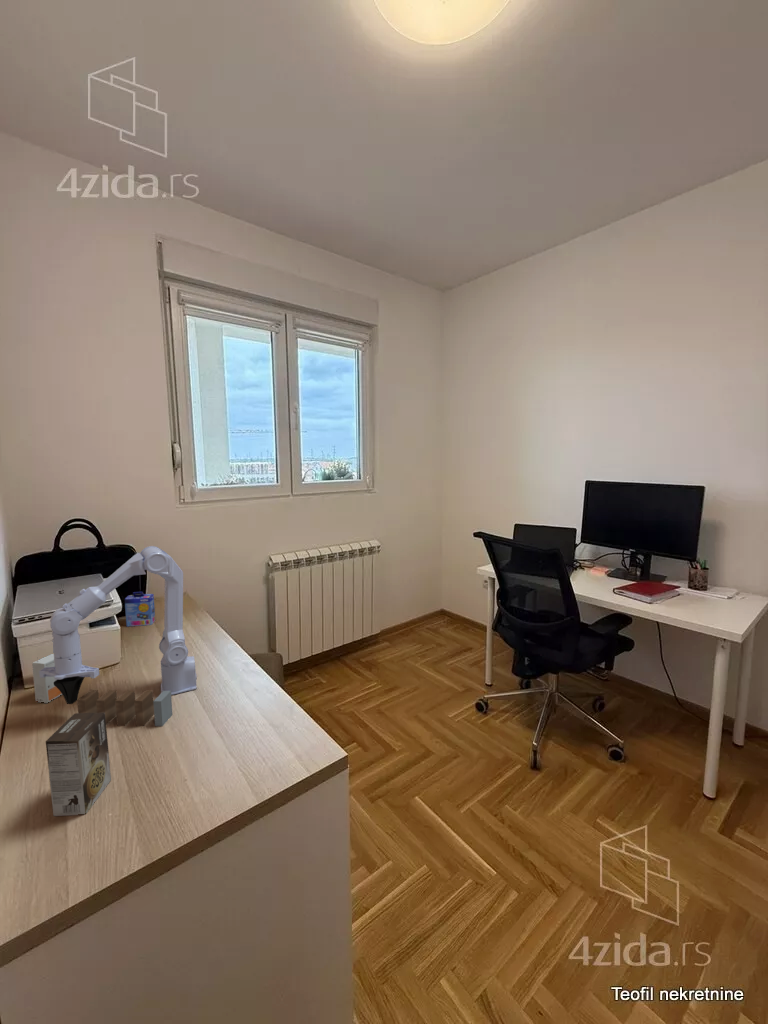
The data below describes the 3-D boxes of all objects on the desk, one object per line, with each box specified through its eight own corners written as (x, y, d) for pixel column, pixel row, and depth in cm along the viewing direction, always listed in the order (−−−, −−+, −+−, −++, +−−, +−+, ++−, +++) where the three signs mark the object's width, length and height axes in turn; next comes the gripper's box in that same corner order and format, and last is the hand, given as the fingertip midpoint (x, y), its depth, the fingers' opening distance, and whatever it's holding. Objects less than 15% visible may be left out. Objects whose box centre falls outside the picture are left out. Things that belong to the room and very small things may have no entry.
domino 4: (136, 725, 109) (134, 700, 108) (147, 714, 114) (145, 690, 113) (143, 726, 109) (141, 700, 108) (154, 714, 114) (152, 690, 113)
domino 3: (117, 725, 109) (115, 700, 108) (129, 714, 114) (127, 690, 113) (124, 725, 109) (122, 700, 108) (136, 714, 114) (134, 690, 113)
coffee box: (81, 781, 90) (74, 712, 88) (112, 780, 91) (106, 710, 89) (51, 817, 81) (43, 741, 79) (86, 815, 82) (79, 739, 80)
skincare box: (47, 704, 118) (43, 664, 117) (35, 702, 119) (31, 662, 118) (67, 692, 124) (63, 654, 123) (55, 690, 125) (52, 653, 124)
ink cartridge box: (125, 627, 173) (123, 593, 171) (130, 622, 178) (128, 589, 176) (151, 625, 175) (149, 591, 173) (155, 620, 180) (153, 588, 179)
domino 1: (79, 725, 109) (77, 700, 108) (92, 713, 114) (90, 689, 113) (86, 725, 109) (84, 700, 108) (100, 713, 114) (98, 689, 113)
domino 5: (155, 726, 109) (153, 701, 108) (165, 714, 114) (163, 690, 113) (162, 726, 109) (161, 701, 108) (172, 714, 114) (171, 690, 113)
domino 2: (98, 725, 109) (96, 700, 108) (110, 713, 114) (109, 689, 113) (105, 725, 109) (103, 700, 108) (118, 714, 114) (116, 690, 113)
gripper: (27, 660, 105) (32, 710, 107) (83, 661, 105) (88, 711, 107) (49, 648, 112) (54, 695, 114) (102, 648, 112) (106, 695, 114)
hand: (72, 701), depth 111 cm, fingers closed
